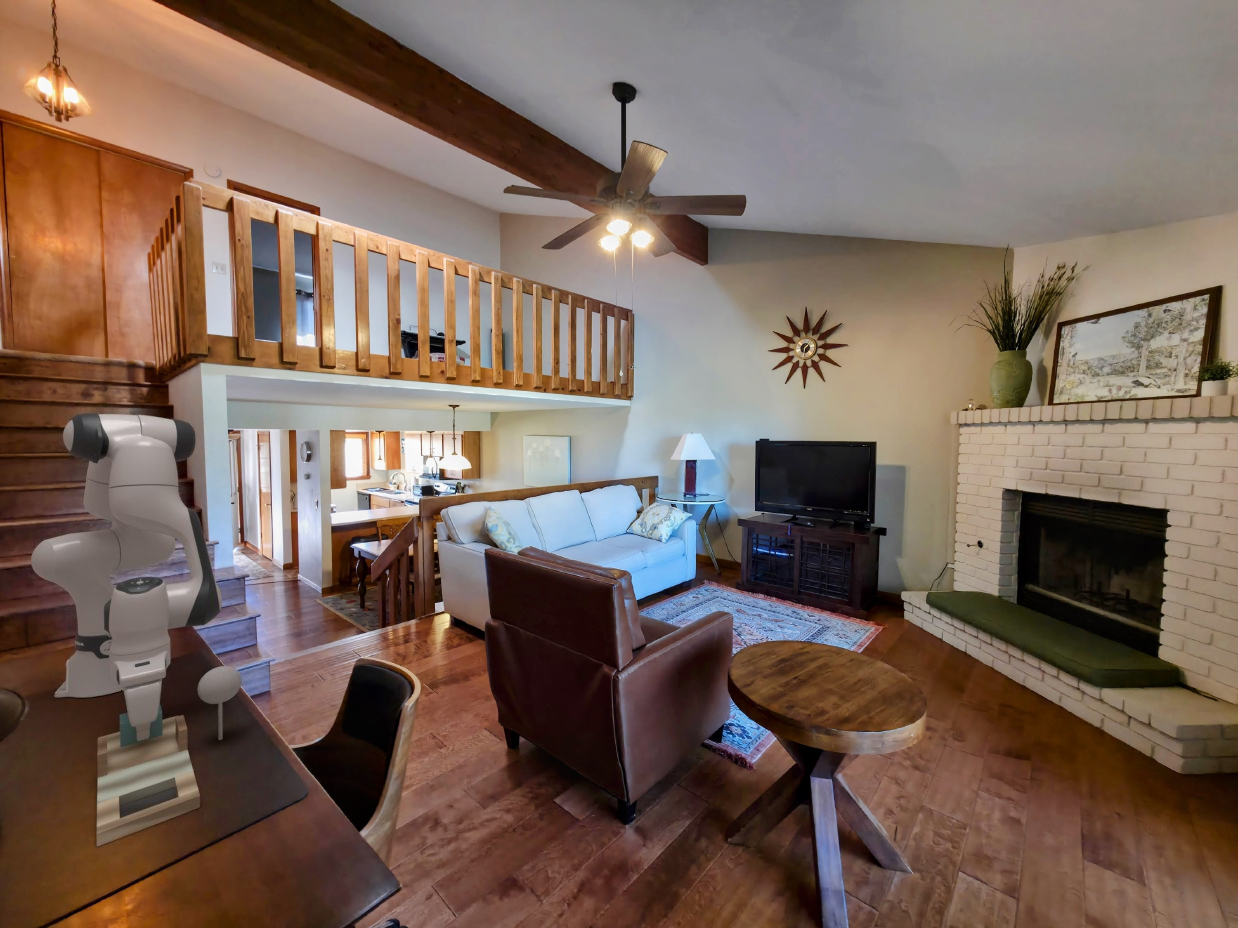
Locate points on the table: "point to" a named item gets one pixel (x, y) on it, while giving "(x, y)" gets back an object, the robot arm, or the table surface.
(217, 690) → the lollipop
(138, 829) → the deck
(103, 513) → the robot arm
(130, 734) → the block
